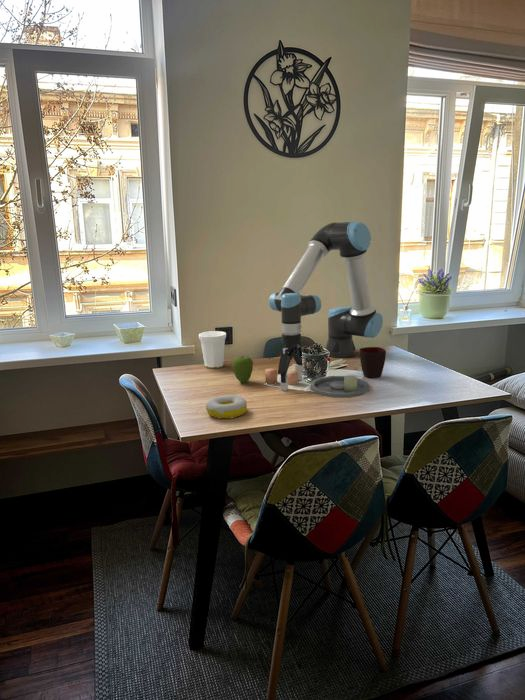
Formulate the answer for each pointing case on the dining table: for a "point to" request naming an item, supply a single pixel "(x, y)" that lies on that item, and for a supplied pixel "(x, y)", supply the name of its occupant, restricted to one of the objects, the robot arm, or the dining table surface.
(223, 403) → the donut
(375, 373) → the mug
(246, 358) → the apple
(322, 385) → the groove tray
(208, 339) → the cup
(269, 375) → the terracotta bead
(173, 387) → the dining table surface
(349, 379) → the olive bead
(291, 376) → the terracotta bead
